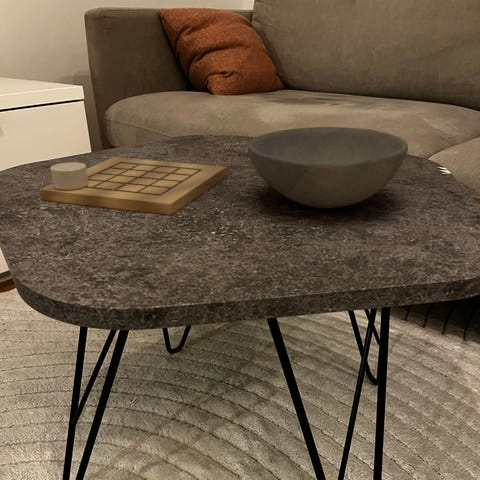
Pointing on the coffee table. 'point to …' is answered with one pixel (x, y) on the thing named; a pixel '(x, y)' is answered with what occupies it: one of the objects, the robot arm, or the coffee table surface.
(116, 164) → the board
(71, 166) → the stone
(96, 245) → the coffee table surface
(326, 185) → the bowl
